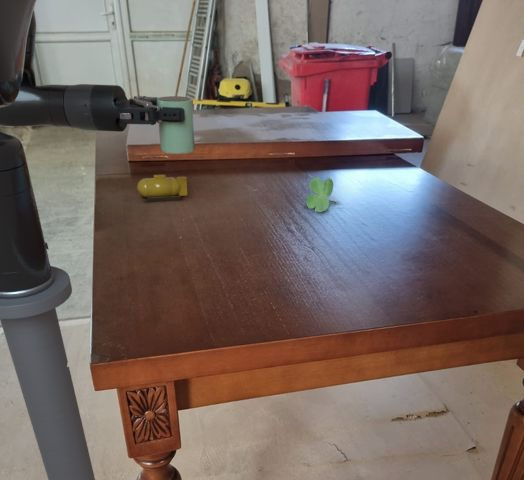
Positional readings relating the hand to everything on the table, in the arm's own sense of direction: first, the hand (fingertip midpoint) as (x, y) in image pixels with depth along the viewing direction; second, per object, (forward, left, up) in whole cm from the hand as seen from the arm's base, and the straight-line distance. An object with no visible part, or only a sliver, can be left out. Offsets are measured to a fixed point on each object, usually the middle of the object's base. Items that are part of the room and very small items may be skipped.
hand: (188, 111), depth 92 cm
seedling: (+27, 0, -19) cm, 33 cm away
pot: (-2, +1, -6) cm, 7 cm away
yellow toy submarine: (-5, +12, -19) cm, 23 cm away
